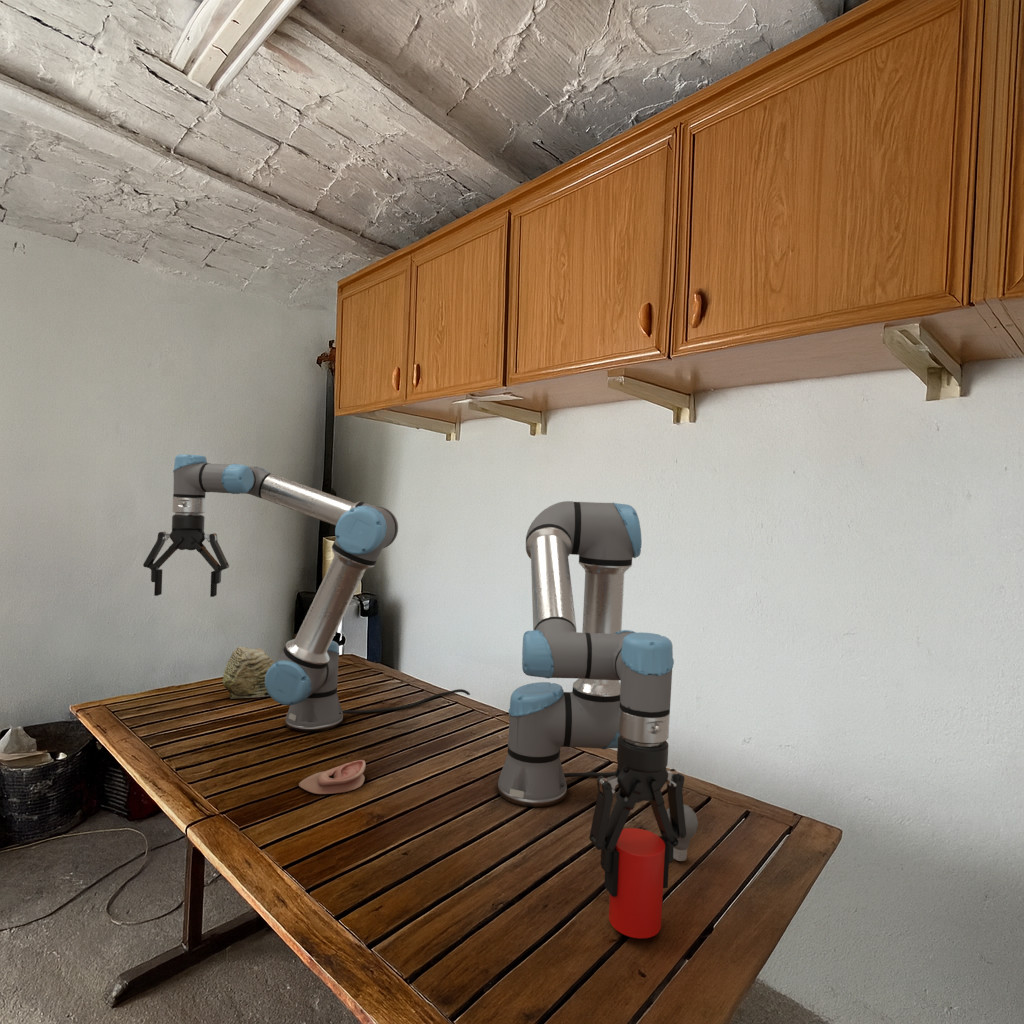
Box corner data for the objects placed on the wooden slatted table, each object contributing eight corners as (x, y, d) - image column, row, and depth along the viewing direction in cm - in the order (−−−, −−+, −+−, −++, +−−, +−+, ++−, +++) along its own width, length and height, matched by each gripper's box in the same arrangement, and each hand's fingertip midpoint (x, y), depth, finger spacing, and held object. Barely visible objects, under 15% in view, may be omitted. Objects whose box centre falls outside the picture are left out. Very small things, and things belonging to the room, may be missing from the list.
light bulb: (658, 850, 118) (660, 797, 118) (689, 850, 119) (691, 797, 119) (668, 869, 112) (671, 813, 112) (701, 868, 113) (704, 813, 113)
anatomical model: (291, 772, 135) (318, 751, 147) (291, 790, 136) (317, 768, 147) (349, 780, 133) (372, 758, 144) (348, 799, 133) (371, 776, 144)
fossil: (218, 695, 195) (220, 647, 195) (278, 685, 208) (279, 640, 207) (228, 703, 189) (230, 653, 188) (289, 692, 201) (290, 645, 201)
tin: (664, 912, 98) (668, 835, 98) (656, 945, 91) (660, 861, 91) (615, 899, 101) (618, 823, 101) (603, 929, 94) (606, 847, 94)
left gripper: (130, 512, 159) (127, 596, 160) (235, 516, 163) (232, 598, 163) (143, 511, 167) (140, 592, 167) (242, 515, 170) (240, 594, 171)
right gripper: (591, 753, 89) (583, 913, 89) (716, 742, 95) (709, 891, 96) (570, 733, 96) (563, 881, 97) (688, 724, 102) (681, 863, 103)
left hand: (185, 595), depth 165 cm, fingers open, 13 cm apart
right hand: (635, 886), depth 96 cm, fingers closed on tin, 8 cm apart
